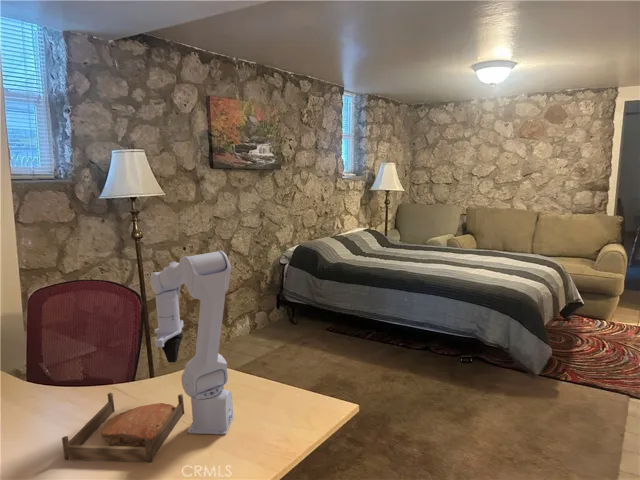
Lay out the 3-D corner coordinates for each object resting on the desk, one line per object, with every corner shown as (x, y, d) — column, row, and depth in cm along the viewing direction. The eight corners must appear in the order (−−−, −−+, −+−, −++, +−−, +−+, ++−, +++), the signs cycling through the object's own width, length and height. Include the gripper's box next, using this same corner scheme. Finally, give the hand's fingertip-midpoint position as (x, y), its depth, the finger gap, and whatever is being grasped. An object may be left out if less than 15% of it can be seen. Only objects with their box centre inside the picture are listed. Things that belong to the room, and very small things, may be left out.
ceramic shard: (123, 394, 119) (179, 403, 118) (120, 418, 119) (177, 427, 119) (92, 419, 104) (156, 430, 104) (89, 447, 105) (153, 457, 104)
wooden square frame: (185, 411, 119) (183, 394, 118) (151, 462, 100) (149, 442, 99) (111, 410, 121) (109, 392, 120) (63, 459, 101) (60, 439, 100)
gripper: (165, 305, 131) (168, 350, 134) (141, 323, 117) (146, 373, 120) (189, 305, 131) (192, 350, 133) (168, 324, 117) (172, 373, 119)
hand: (172, 361), depth 126 cm, fingers closed
